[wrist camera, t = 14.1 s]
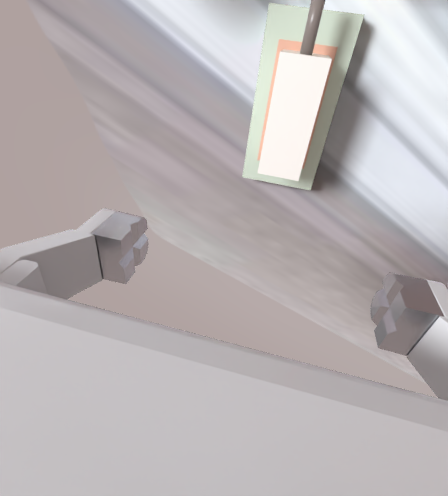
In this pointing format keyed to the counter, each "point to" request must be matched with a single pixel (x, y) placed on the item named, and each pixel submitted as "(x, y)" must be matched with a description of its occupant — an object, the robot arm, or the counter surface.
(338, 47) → the green peg board
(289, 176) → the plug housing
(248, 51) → the counter surface
